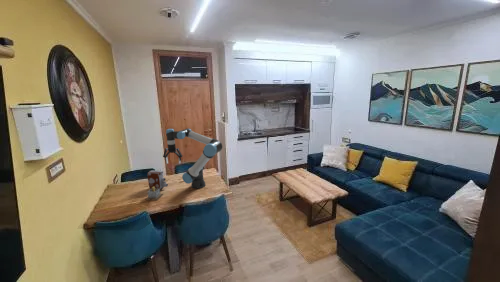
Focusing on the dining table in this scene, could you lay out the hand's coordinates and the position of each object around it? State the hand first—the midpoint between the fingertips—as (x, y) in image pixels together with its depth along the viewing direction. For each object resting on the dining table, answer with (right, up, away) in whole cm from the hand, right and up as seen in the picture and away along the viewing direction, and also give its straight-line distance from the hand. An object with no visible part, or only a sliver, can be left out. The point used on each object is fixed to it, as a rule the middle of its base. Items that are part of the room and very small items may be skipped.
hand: (173, 163), depth 226 cm
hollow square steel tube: (-15, -32, -12) cm, 37 cm away
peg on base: (-15, -33, -11) cm, 38 cm away
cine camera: (-18, -28, +8) cm, 35 cm away
